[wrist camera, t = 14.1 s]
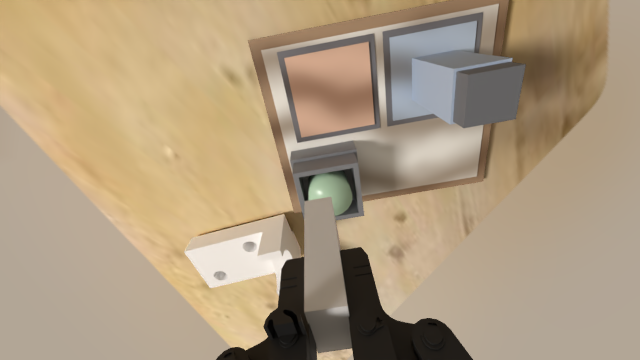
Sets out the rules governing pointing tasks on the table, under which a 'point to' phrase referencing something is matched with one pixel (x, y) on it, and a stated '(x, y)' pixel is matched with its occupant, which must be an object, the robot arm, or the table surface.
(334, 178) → the button
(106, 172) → the table surface
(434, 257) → the table surface
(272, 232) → the bracket
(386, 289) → the table surface
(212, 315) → the table surface
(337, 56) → the wood rimmed sorting board
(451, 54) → the grey square prism
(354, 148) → the button housing
